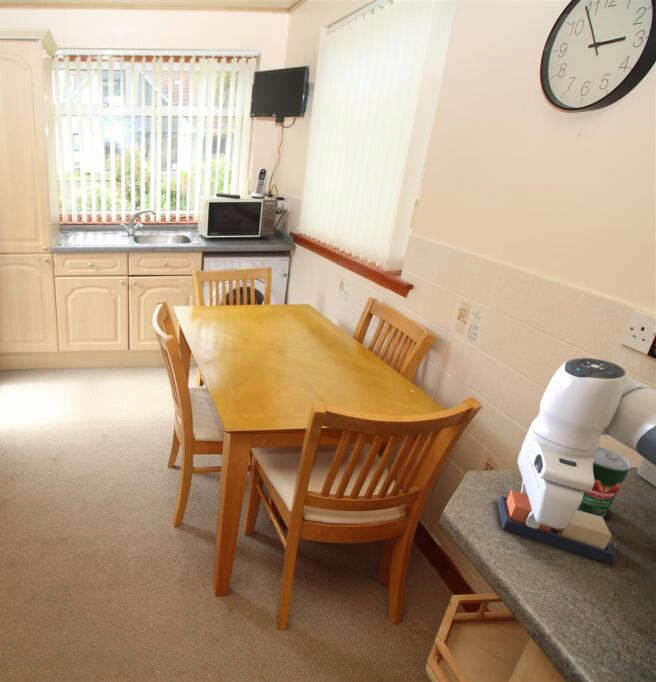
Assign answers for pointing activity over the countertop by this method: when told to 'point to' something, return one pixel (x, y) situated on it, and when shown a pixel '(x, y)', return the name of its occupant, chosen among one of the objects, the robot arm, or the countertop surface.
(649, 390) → the robot arm
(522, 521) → the orange block
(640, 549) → the countertop surface
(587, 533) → the cream block
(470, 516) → the countertop surface
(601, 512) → the canned tomato
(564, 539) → the frame
